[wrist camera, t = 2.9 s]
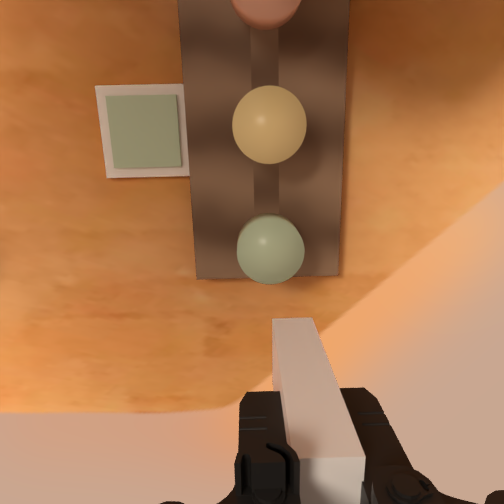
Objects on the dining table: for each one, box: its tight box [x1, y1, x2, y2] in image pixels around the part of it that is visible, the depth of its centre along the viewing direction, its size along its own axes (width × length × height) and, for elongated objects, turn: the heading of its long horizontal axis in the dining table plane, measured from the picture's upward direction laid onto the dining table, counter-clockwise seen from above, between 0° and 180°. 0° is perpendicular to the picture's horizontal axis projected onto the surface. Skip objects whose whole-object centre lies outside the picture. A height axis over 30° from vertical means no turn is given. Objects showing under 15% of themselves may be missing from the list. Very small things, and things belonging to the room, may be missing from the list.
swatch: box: [95, 84, 190, 178], centre depth 30 cm, size 7×7×1 cm
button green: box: [237, 213, 305, 284], centre depth 29 cm, size 5×5×5 cm
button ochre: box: [232, 85, 307, 164], centre depth 26 cm, size 5×5×5 cm
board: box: [178, 0, 350, 279], centre depth 29 cm, size 24×12×2 cm, turn 1°
